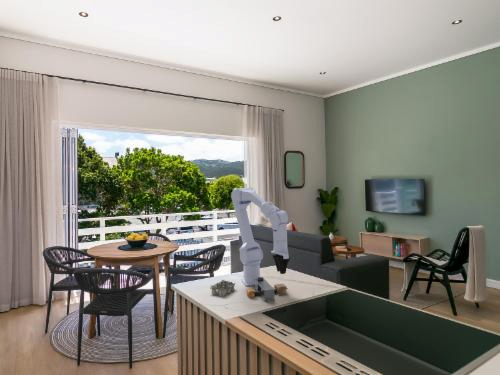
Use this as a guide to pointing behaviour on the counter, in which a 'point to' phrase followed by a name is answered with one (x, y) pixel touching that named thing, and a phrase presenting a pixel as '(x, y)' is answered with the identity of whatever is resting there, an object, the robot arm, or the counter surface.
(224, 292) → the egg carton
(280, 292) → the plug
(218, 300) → the counter surface
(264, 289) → the motor housing
